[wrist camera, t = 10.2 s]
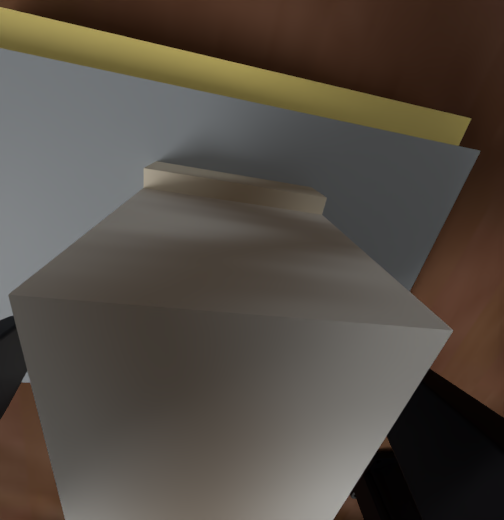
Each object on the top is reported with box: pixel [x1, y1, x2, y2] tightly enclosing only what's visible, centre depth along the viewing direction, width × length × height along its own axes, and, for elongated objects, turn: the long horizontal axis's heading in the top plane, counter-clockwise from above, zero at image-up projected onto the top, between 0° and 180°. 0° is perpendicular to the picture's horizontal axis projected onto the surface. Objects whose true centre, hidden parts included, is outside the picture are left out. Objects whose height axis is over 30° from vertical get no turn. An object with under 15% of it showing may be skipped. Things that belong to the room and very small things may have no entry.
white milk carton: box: [8, 161, 453, 520], centre depth 7 cm, size 5×8×6 cm, turn 170°
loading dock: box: [0, 7, 480, 382], centre depth 11 cm, size 16×13×3 cm
